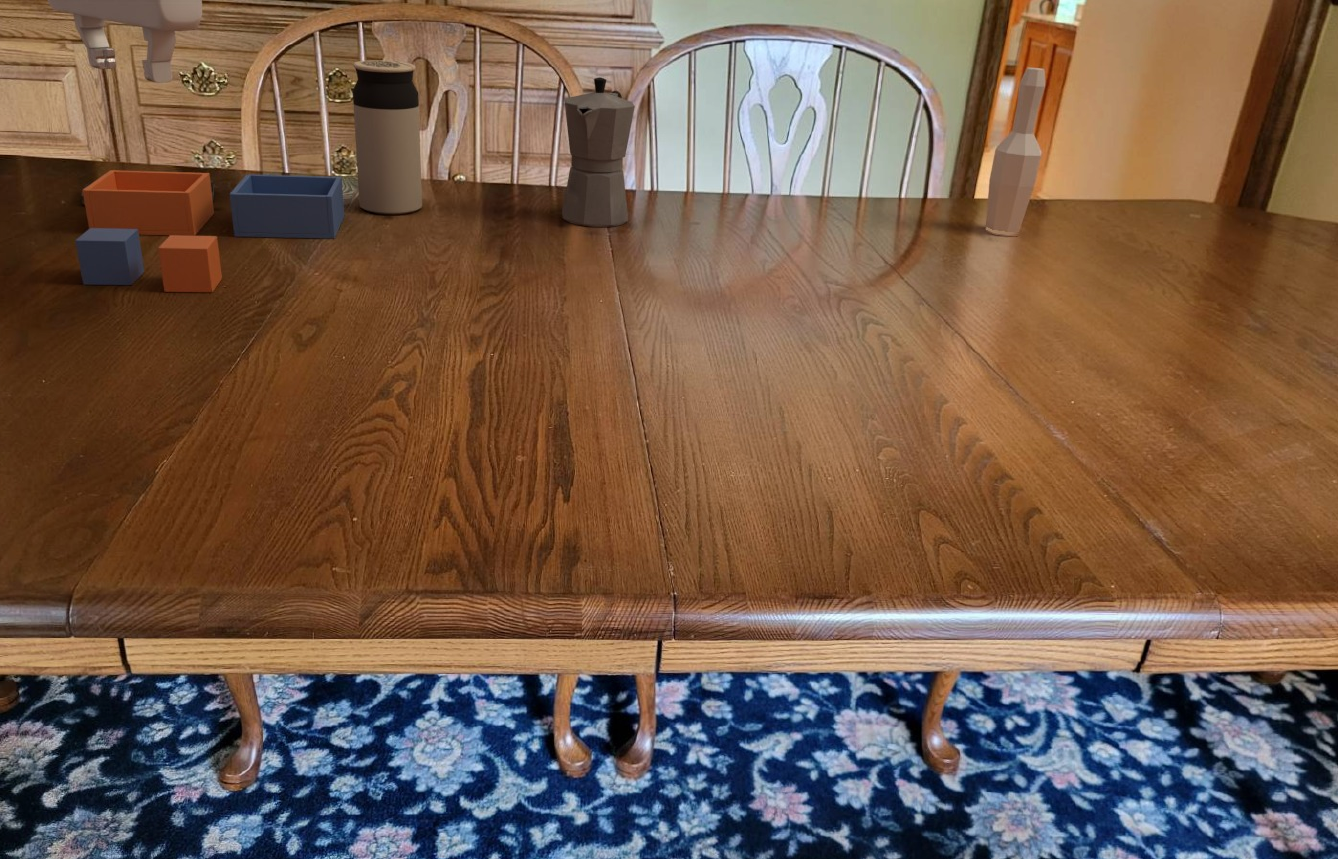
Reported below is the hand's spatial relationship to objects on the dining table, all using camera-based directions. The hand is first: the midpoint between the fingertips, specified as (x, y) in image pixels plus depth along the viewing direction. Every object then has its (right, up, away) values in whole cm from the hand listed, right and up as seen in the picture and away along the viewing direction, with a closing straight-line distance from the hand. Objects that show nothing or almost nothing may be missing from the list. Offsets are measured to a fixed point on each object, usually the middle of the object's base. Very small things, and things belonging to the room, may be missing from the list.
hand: (130, 74), depth 95 cm
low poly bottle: (+96, -4, +54) cm, 110 cm away
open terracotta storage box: (-18, -2, +40) cm, 44 cm away
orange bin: (-12, -8, +30) cm, 33 cm away
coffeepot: (+39, -4, +46) cm, 61 cm away
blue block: (-7, -17, +11) cm, 22 cm away
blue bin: (+3, -7, +32) cm, 33 cm away
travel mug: (+12, -3, +43) cm, 45 cm away
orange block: (+1, -17, +11) cm, 21 cm away
